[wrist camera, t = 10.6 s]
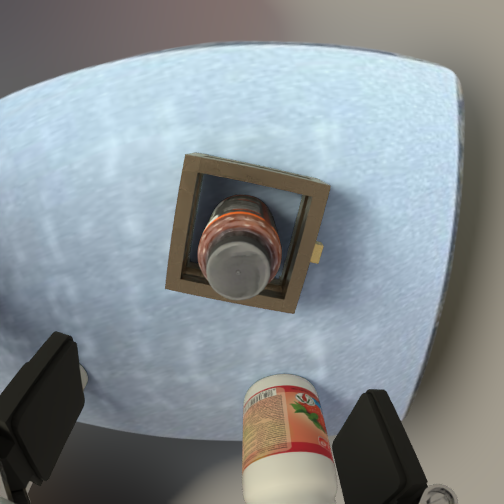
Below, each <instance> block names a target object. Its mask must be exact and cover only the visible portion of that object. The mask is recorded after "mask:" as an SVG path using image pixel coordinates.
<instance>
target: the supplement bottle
mask: <svg viewBox="0 0 504 504" xmlns="http://www.w3.org/2000/svg"><path fill="white" fill-rule="evenodd" d="M281 257H282V249H281V244H280V239H279V236H278V232H277V229H276V226H275V222H274V219H273V216H272V214H271V212H270V210H269V209H268V207H267V206H266V205H265V204H264V203H263V202H262V201H260V200H259V199H257V198H256V197H253V196H249V195H234V196H231V197H228V198H226V199H225V200H223V201H222V202H221V203H220V204H219V205H218V206H217V207H216V208H215V210H214V211H213V213H212V215H211V217H210V219H209V221H208V224H207V225H206V228H205V230H204V232H203V234H202V237H201V239H200V242H199V246H198V263H199V266H200V269H201V271H202V273H203V275H204V276H205V278H206V279H207V280H208V281H209V283H210V285H211V287H212V288H213V289H214V290H215V291H216V292H217V293H218V294H220V295H221V296H223V297H225V298H227V299H231V300H246V299H250V298H252V297H254V296H256V295H258V294H259V293H260V292H261V291H262V290H263V289H264V288H265V287H266V285H267V284H268V283H270V282H271V281H272V279H273V278H274V277H275V275H276V274H277V272H278V270H279V267H280V264H281Z"/></svg>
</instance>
